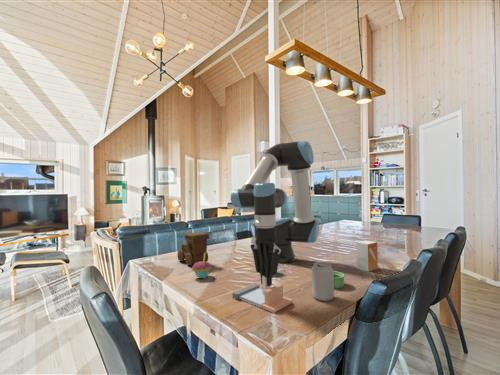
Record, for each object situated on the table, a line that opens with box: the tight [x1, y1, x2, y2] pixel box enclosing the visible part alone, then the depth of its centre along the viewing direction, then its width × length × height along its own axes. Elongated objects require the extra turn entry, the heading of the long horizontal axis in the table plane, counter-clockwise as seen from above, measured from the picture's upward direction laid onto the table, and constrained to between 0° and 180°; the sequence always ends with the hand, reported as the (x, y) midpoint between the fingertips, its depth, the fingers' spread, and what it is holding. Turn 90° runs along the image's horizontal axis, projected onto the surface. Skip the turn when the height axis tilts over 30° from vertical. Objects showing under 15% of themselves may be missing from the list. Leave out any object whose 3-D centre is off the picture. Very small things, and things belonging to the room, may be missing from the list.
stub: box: [261, 283, 293, 314], centre depth 85 cm, size 5×10×6 cm, turn 136°
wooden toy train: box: [176, 231, 210, 266], centre depth 140 cm, size 20×11×17 cm, turn 40°
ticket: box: [232, 283, 265, 309], centre depth 92 cm, size 13×12×2 cm
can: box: [311, 261, 335, 302], centre depth 91 cm, size 8×8×12 cm
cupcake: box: [191, 253, 212, 279], centre depth 116 cm, size 9×8×12 cm
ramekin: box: [333, 270, 346, 289], centre depth 103 cm, size 9×9×4 cm
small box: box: [355, 240, 379, 273], centre depth 122 cm, size 8×6×13 cm
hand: (266, 294), depth 88 cm, fingers closed
